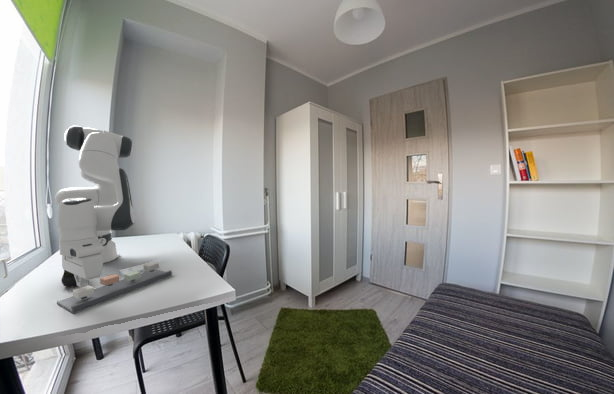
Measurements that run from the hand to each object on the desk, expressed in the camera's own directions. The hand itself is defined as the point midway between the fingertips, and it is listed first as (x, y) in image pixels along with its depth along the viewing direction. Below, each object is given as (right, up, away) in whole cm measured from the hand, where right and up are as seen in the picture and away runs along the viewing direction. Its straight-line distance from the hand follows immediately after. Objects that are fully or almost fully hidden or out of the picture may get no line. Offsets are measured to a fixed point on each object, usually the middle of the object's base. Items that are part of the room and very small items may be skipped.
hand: (82, 286), depth 71 cm
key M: (+9, -2, +19) cm, 21 cm away
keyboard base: (+5, -5, +10) cm, 12 cm away
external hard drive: (-3, -5, +28) cm, 28 cm away
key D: (+6, -3, +13) cm, 15 cm away
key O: (0, -4, 0) cm, 4 cm away
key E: (+3, -2, +6) cm, 8 cm away
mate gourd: (-16, -5, +12) cm, 21 cm away
